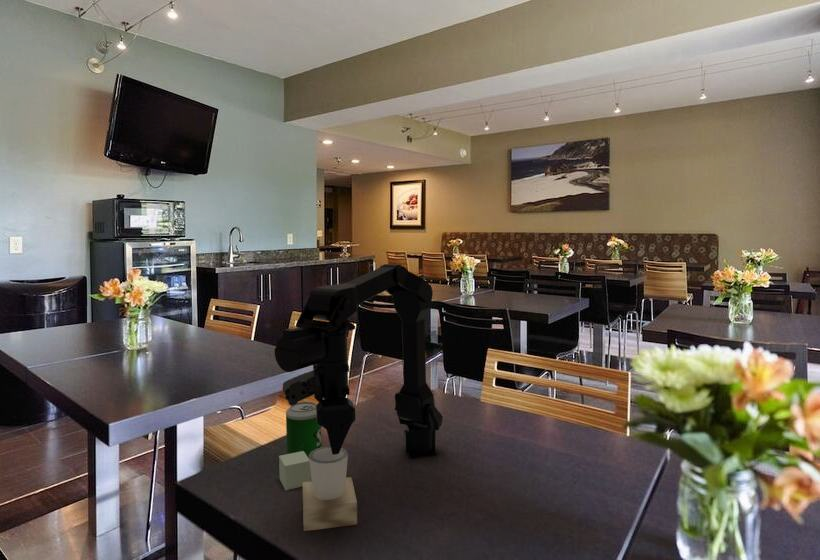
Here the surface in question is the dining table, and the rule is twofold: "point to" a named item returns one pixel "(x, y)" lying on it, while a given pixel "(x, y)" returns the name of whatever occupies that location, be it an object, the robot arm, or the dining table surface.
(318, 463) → the shot glass
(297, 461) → the sage cube
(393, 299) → the robot arm
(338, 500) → the maple block
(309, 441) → the soda can
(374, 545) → the dining table surface
